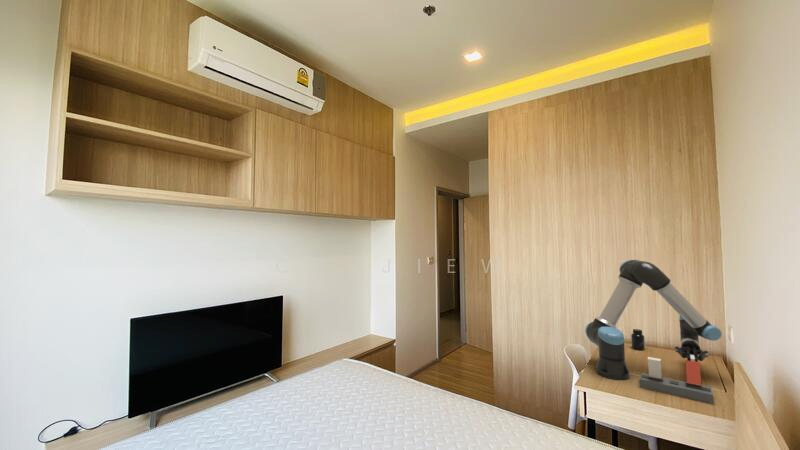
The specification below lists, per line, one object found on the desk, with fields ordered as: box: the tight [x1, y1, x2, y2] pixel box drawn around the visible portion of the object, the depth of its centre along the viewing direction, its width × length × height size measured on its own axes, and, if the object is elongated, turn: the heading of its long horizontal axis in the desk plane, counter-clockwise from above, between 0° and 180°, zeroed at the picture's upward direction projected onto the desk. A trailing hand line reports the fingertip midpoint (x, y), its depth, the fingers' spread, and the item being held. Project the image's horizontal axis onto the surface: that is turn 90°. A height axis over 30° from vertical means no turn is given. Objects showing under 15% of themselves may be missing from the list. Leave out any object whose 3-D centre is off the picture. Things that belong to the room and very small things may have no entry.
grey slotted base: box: [639, 372, 715, 405], centre depth 154 cm, size 26×9×4 cm, turn 50°
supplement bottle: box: [630, 328, 646, 351], centre depth 208 cm, size 7×7×12 cm
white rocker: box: [647, 356, 663, 379], centre depth 157 cm, size 5×2×10 cm, turn 50°
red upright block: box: [685, 359, 702, 387], centre depth 151 cm, size 5×2×10 cm, turn 50°
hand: (693, 361), depth 155 cm, fingers closed
